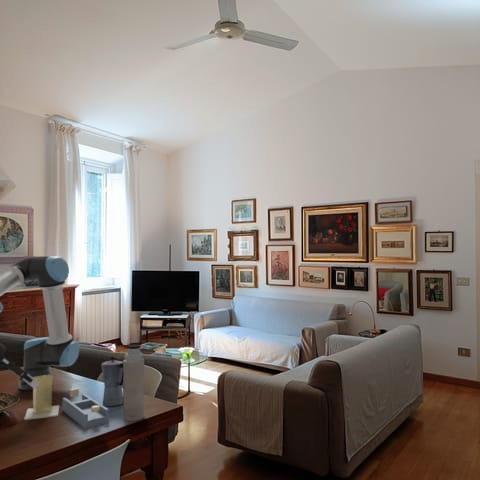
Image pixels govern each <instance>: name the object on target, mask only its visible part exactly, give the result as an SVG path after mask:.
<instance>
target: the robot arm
mask: <svg viewBox="0 0 480 480" xmlns="http://www.w3.org/2000/svg"><path fill="white" fill-rule="evenodd" d="M69 268H70V267H69V264H68V261H66V259H64V257H62V256H55V255H45V256H44V255H40V256H34V255H31V256H28V257H25V258H23V259H21V260H18V261H17V262H14V263H13V264H11V265H10V266H8V267H7V268H6V269H5V271H4V272H2V273H1V274H0V297H1V296H3V295H4V294H6V293H7V292H9V291H10V290H11V289H13V288H14V287H16V286H20V285H22V284H24V283H27V282H37V287H38V288H39V289H41V290H42V295H43V301H44V310H45V317H46V323H47V324H46V325H47V330H48V336H45V337H38V338H33V339H29V340H26V341H25V342H24V343H23V369H22V368H21V367H20V366H19V364H18V363H16V362H15V361H14V360H13V359H12V358H11V357H10V356H9V354H6V353H5V352H6V349H7V348H6V346H5V345H3V344H2V342H0V366H1V367H4V368H5V369H7V370H10V371H11V372H12V373H13V374H14V375H16V376H18V377H19V383H18V385H19V387H18V389H19V390H22V391H33V388H34V389H35V388H36V387H37V386H38V385H39V384H40V383H39V382H38V381H37V380H35V379H34V378H33V377H37V376H43V375H51V376H52V386H53V385H54V377H53V375H52V371H51V370H50V369H51V368H50V367H51V366H53V367H70V366H72V365H74V363H76V361H77V360H78V357H79V355H80V354H79V353H80V345H79V343H78V342H77V341H74V339H73V335H72V334H70V333H69V329H68V320H67V313H66V305H65V300H64V292H63V286H64V285H65V283H66V280H67V279H68V277H69V274H70V269H69ZM3 309H4V305H3V303H2V302H1V301H0V314H1V313H2V311H3ZM4 353H5V354H4Z"/></svg>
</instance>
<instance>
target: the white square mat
mask: <svg viewBox="0 0 480 480" xmlns="http://www.w3.org/2000/svg"><path fill="white" fill-rule="evenodd" d="M59 409H60V405H52V411H51V412H46V413H42V414H37V415H35V414H34V413H33V407H31V408H27V410H26V413H25V416H24V418H23V420H24V421H28V420H29V421H30V420H36V419H38V420H39V419H43V418H44V419H45V418H52V417H53V418H55V417H58V416H59Z"/></svg>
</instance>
